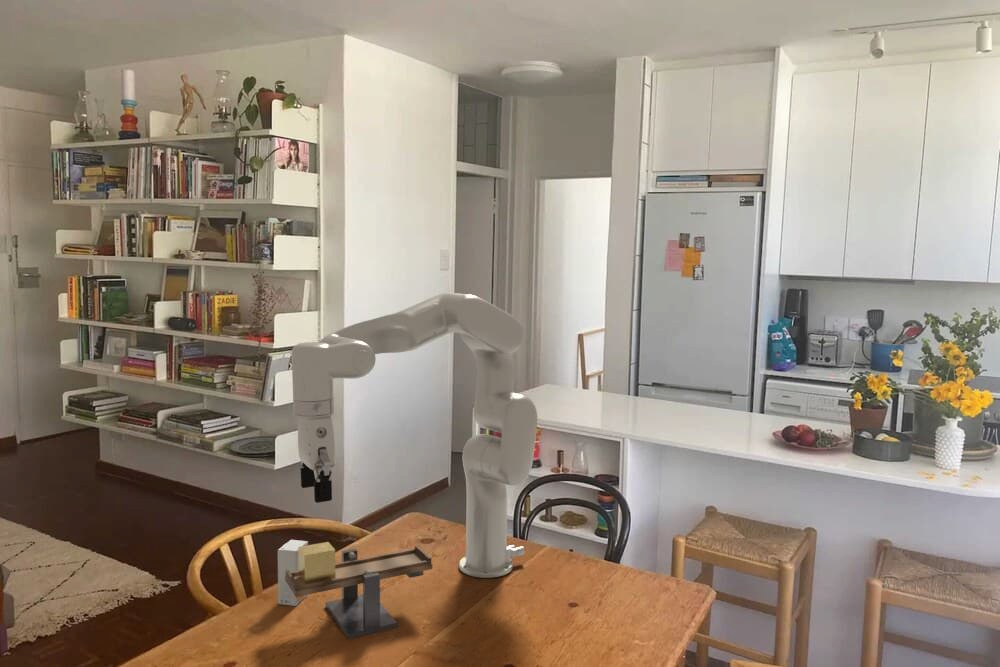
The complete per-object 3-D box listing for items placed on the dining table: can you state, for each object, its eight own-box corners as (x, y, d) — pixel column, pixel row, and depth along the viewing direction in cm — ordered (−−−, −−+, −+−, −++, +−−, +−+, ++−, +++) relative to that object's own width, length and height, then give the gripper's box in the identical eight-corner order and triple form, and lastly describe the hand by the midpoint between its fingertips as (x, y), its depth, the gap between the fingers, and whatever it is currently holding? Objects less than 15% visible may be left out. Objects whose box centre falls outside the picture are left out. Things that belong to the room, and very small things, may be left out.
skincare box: (296, 606, 162) (295, 551, 161) (277, 604, 163) (276, 549, 162) (309, 594, 168) (308, 540, 167) (291, 592, 169) (290, 539, 168)
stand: (371, 597, 167) (371, 545, 166) (397, 627, 154) (397, 571, 153) (325, 606, 162) (325, 553, 161) (348, 639, 149) (347, 581, 148)
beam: (413, 558, 169) (413, 540, 169) (435, 578, 159) (435, 559, 159) (283, 584, 156) (283, 564, 155) (297, 607, 146) (297, 586, 145)
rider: (328, 570, 156) (328, 541, 156) (335, 579, 152) (335, 549, 152) (298, 576, 154) (298, 547, 153) (304, 585, 150) (304, 555, 149)
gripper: (346, 414, 143) (348, 504, 145) (320, 397, 158) (322, 478, 160) (306, 418, 140) (308, 510, 142) (283, 400, 155) (285, 484, 157)
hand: (316, 493), depth 151 cm, fingers open, 9 cm apart
